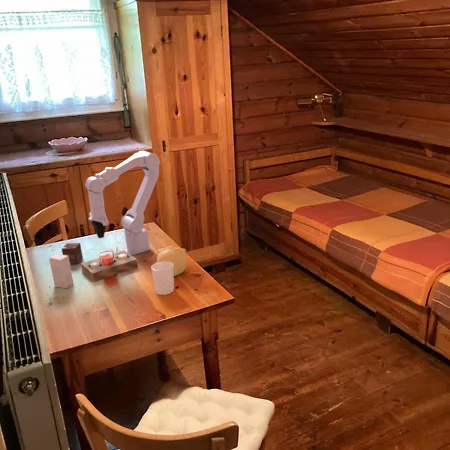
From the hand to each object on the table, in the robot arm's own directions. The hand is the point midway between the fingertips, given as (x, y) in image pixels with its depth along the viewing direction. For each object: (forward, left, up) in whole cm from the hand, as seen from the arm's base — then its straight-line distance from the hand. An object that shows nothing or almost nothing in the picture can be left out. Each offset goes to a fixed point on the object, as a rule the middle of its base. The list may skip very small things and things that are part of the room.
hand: (101, 237), depth 206 cm
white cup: (-6, +41, -11) cm, 43 cm away
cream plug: (-4, +10, -10) cm, 15 cm away
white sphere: (+8, +10, -10) cm, 16 cm away
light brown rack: (+2, +10, -10) cm, 15 cm away
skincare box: (+21, +11, -11) cm, 26 cm away
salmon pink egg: (+2, +10, -9) cm, 14 cm away
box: (+10, -8, -11) cm, 17 cm away
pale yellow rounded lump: (-16, +30, -11) cm, 35 cm away
